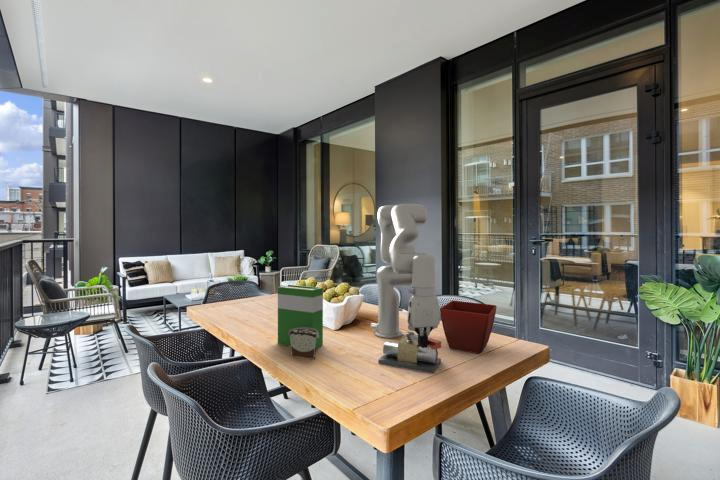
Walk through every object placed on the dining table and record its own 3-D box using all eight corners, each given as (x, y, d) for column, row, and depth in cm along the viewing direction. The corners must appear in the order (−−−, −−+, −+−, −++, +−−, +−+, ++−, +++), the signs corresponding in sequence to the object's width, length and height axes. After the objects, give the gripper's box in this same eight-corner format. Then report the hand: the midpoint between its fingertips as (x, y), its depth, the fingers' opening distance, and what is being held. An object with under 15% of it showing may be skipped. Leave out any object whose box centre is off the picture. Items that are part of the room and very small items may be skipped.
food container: (324, 354, 139) (324, 328, 138) (317, 359, 133) (317, 333, 132) (296, 350, 143) (296, 325, 142) (288, 355, 137) (288, 329, 136)
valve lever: (404, 338, 130) (404, 332, 130) (410, 336, 132) (410, 331, 132) (435, 349, 118) (435, 343, 118) (441, 348, 120) (441, 341, 120)
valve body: (378, 363, 129) (378, 339, 129) (389, 354, 139) (389, 331, 139) (433, 373, 121) (433, 347, 121) (441, 362, 131) (441, 338, 130)
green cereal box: (277, 343, 152) (277, 286, 151) (288, 338, 158) (288, 284, 158) (312, 350, 144) (312, 290, 143) (322, 344, 150) (322, 287, 150)
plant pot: (488, 358, 135) (489, 314, 135) (438, 350, 145) (439, 308, 144) (496, 344, 152) (497, 305, 151) (451, 337, 161) (451, 300, 161)
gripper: (408, 295, 114) (407, 352, 114) (449, 292, 119) (448, 347, 119) (398, 291, 121) (397, 345, 121) (437, 289, 126) (436, 341, 126)
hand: (422, 346), depth 120 cm, fingers closed
